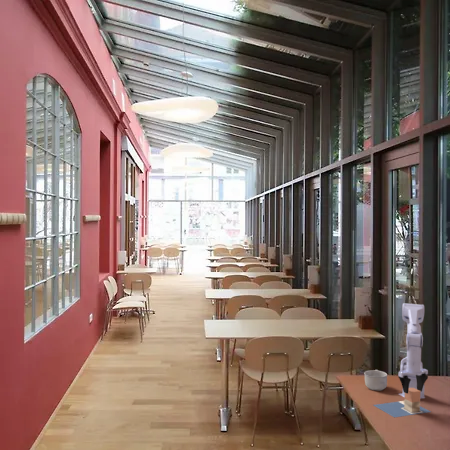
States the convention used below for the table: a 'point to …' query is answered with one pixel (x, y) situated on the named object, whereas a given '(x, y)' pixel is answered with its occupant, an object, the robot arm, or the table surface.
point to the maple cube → (412, 406)
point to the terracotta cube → (413, 395)
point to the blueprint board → (398, 409)
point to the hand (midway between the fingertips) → (412, 391)
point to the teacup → (376, 380)
